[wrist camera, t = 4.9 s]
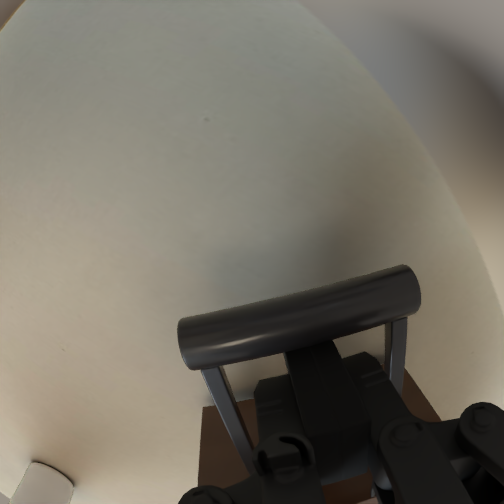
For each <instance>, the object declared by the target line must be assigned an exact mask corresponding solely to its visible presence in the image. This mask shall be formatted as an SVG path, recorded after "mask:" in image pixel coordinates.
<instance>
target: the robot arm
mask: <svg viewBox="0 0 504 504" xmlns="http://www.w3.org/2000/svg"><path fill="white" fill-rule="evenodd" d="M283 354H284V358H285V362H286V366H287V370H288V374H286V375H281V376H277V377H273V378H268V379H263V380H259V382H258V384H257V386H256V389H255V391H254V399H255V406H256V407H255V408H256V416H257V427H258V436H259V443H258V444H257V446H256V447H255V449H254V450H253V453H252V459H251V460H252V462H253V464H254V467H255V469H256V470H255V471H254V473H253V474H252V475H250V476H249V477H248V478H246V479H245V480H243V481H241V482H239V483H236V484H234V485H231V486H229V487H226V488H224V489H222V488H220V487H216V486H213V485H202V486H198V487H195V488H193V489H191V490H189V491H188V492H187V493H185V494H184V495H183V496H182V498H181V500H180V501H179V503H178V504H326V501H325V497H324V493H323V489H322V486H323V485H327V484H331V483H334V482H338V481H341V480H345V479H348V478H351V477H355V476H358V475H361V474H364V473H367V471H368V466H369V469H370V471H371V474H372V477H373V479H372V485H371V491H370V492H371V498H372V497H375V495H376V498H377V501H378V503H379V504H504V411H503V410H502V409H500V408H499V407H498V406H496V405H494V404H492V403H487V402H479V403H475V404H472V405H471V406H469V407H467V408H466V409H465V410H464V412H463V413H462V414H461V417H460V418H458V419H452V420H447V421H441V422H426V421H423V420H422V419H420V418H418V417H416V416H414V415H412V413H411V412H410V411H409V410H408V408H407V406H406V405H405V403H404V401H403V400H402V398H401V397H400V395H399V393H398V392H397V390H396V388H395V387H394V385H393V384H392V382H391V380H389V377H388V376H387V374H386V373H385V371H384V370H383V368H382V366H381V365H380V363H379V361H378V360H377V359H376V358H375V357H373V356H372V355H370V354H368V353H367V352H362V353H359V354H355V355H352V356H349V357H346V358H341V356H340V354H339V352H338V350H337V348H336V346H335V344H334V342H333V340H330V341H327V342H323V343H319V344H315V345H312V346H308V347H304V348H300V349H296V350H292V351H288V352H284V353H283Z"/></svg>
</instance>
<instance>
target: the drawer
mask: <svg viewBox="0 0 504 504" xmlns="http://www.w3.org/2000/svg"><path fill="white" fill-rule="evenodd" d="M420 304H421V292H420V286H419V283H418V280H417V278H416V276H415V274H414V272H413V271H412V269H411V268H410V267H409V266H407V265H404V264H401V265H398V266H394V267H391V268H387V269H384V270H380V271H377V272H373V273H370V274H366V275H362V276H359V277H355V278H351V279H348V280H344V281H340V282H336V283H333V284H329V285H325V286H321V287H317V288H313V289H309V290H305V291H301V292H297V293H293V294H289V295H285V296H281V297H276V298H272V299H268V300H264V301H259V302H255V303H251V304H246V305H242V306H237V307H233V308H228V309H224V310H219V311H214V312H210V313H205V314H200V315H195V316H190V317H185V318H182V319H180V320H179V322H178V328H177V335H178V344H179V348H180V352H181V355H182V358H183V360H184V362H185V364H186V366H187V367H188V368H189V369H190V370H200V369H201V373H202V375H203V377H204V380H205V382H206V384H207V387H208V389H209V391H210V394H211V396H212V398H213V400H214V403H215V406H208V407H203V412H202V425H201V440H200V455H199V472H198V486H202V485H213V486H216V487H220V488H222V489H224V488H226V487H229V486H231V485H234V484H236V483H239V482H241V481H243V480H245V479H246V478H248V477H249V476H250V475H252V474H253V473H254V471H255V470H256V469H255V467H254V464H253V462H252V460H251V459H252V453H253V450H254V449H255V447H256V446H257V444H258V443H259V436H258V427H257V416H256V408H255V407H256V406H255V399H249V400H244V401H239V402H236V400H235V397H234V394H233V392H232V389H231V387H230V384H229V381H228V379H227V376H226V373H225V370H224V368H223V365H228V364H233V363H238V362H243V361H248V360H253V359H257V358H262V357H266V356H271V355H275V354H279V353H284V352H288V351H292V350H296V349H300V348H304V347H308V346H312V345H315V344H319V343H323V342H327V341H330V340H334V339H337V338H341V337H344V336H348V335H351V334H354V333H358V332H361V331H364V330H368V329H371V328H374V327H377V326H380V325H383V324H385V361H384V364H381V366H382V368H383V370H384V371H385V373H386V374H387V376H388V377H389V380H391V382H392V384H393V385H394V387H395V388H396V390H397V392H398V393H399V395H400V397H401V398H402V400H403V401H404V403H405V405H406V406H407V408H408V410H409V411H410V412H411V413H412V415H414V416H416V417H418V418H420V419H422V420H423V421H426V422H441V419H440V418H439V416H438V415H437V413H436V412H435V410H434V409H433V407H432V406H431V405H430V403H429V402H428V400H427V399H426V397H425V396H424V394H423V393H422V392H421V390H420V389H419V387H418V386H417V384H416V383H415V382H414V380H413V379H412V377H411V376H410V374H409V373H408V372H407V370H406V369H405V368H404V367H405V355H406V339H407V316H410V315H413V314H415V313H416V312H417V311H418V310H419V308H420ZM372 479H373V477H372V474H371V471H370V469H369V466H368V471H367V473H364V474H361V475H358V476H355V477H351V478H348V479H345V480H341V481H338V482H334V483H331V484H327V485H323V486H322V489H323V493H324V497H325V501H326V504H379V503H378V501H377V498H376V495H375V497H372V498H371V492H370V491H371V485H372Z"/></svg>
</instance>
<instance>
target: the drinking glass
mask: <svg viewBox="0 0 504 504" xmlns="http://www.w3.org/2000/svg"><path fill="white" fill-rule="evenodd" d="M73 492H74V487H73V485H72V483H71V482H70V481H69V480H68V479H67V478H66V477H65V476H64V475H62V474H61V473H60V472H58V471H56V470H55V469H53V468H51V467H49V466H47V465H44V464H41V463H31V464H30V465H29V466H28V468H27V470H26V472H25V474H24V476H23V478H22V480H21V482H20V484H19V485H18V487H17V489H16V491H15V492H14V494H13V496H12V498H11V500H10V501H9V503H8V504H70V501H71V498H72V495H73Z"/></svg>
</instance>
